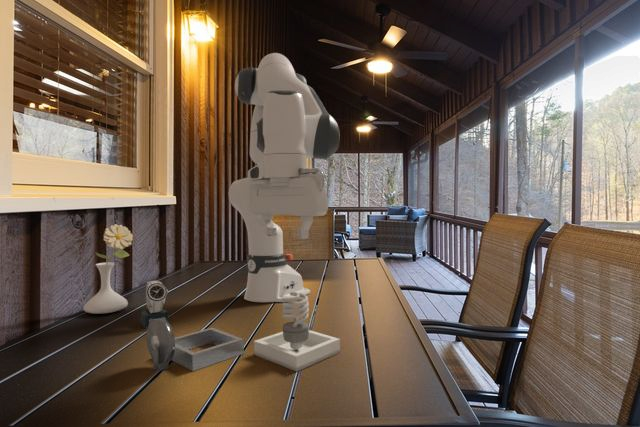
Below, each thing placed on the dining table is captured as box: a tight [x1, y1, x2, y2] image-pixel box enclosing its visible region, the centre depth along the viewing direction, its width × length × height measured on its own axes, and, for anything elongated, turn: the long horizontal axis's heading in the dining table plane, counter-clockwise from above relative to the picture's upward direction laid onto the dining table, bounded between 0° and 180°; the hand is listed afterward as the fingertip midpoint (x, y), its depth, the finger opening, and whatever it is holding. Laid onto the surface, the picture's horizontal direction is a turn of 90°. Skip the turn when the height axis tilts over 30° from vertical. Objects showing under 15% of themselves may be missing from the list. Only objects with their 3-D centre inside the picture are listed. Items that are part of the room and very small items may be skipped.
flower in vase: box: [82, 223, 134, 315], centre depth 116 cm, size 13×11×25 cm
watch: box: [140, 280, 169, 329], centre depth 103 cm, size 6×8×11 cm
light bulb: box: [280, 292, 310, 351], centre depth 82 cm, size 6×6×12 cm
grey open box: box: [146, 318, 245, 372], centre depth 80 cm, size 16×12×9 cm
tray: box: [253, 329, 341, 372], centre depth 82 cm, size 12×12×3 cm
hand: (286, 237), depth 83 cm, fingers open, 8 cm apart
